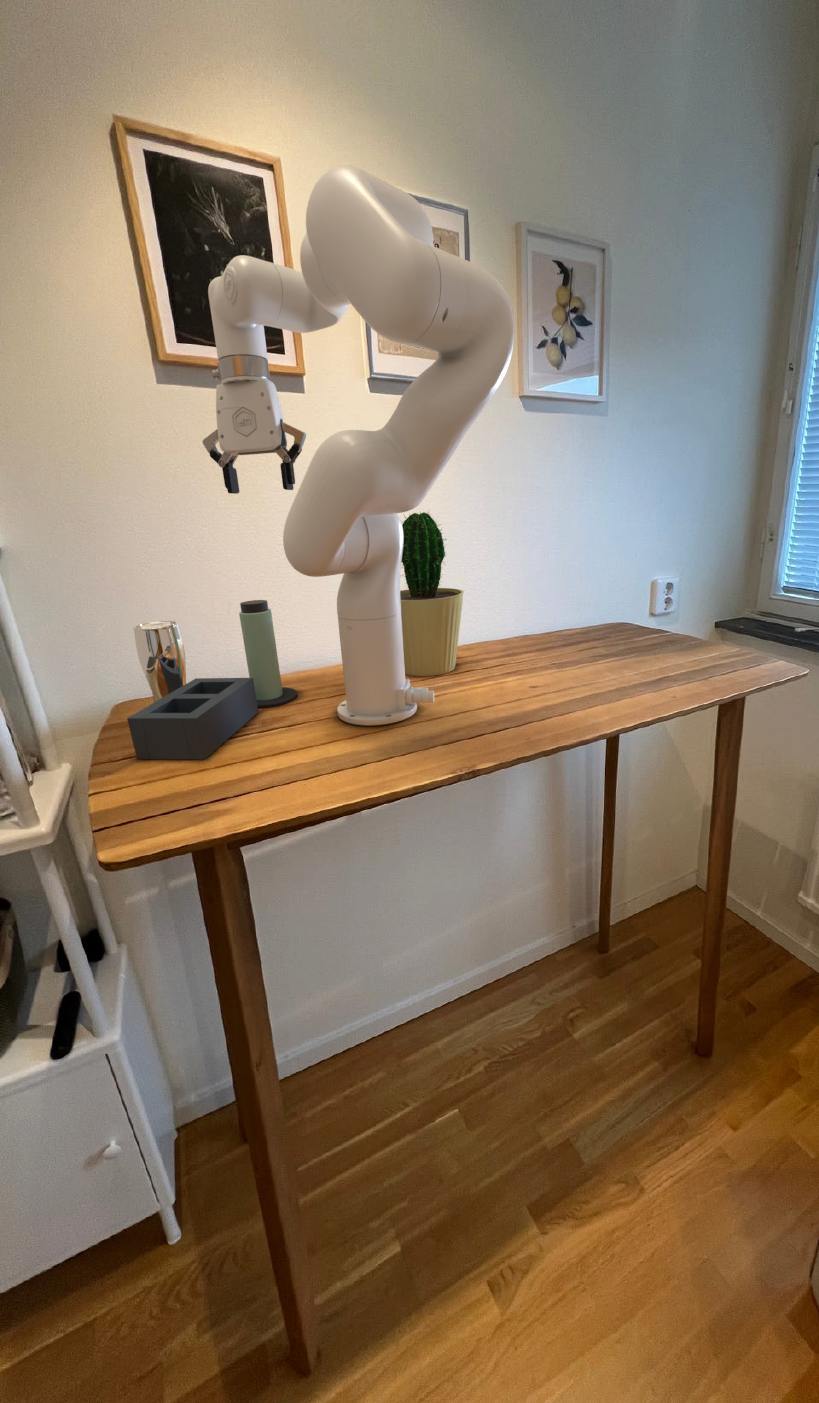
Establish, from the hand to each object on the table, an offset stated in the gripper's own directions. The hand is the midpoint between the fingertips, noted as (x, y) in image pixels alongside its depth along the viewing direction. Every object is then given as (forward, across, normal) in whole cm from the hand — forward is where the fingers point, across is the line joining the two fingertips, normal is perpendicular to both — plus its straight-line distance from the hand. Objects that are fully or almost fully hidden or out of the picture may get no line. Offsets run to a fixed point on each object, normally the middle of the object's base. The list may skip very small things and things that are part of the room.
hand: (261, 491), depth 92 cm
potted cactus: (+34, +25, +11) cm, 44 cm away
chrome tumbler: (+34, -15, -14) cm, 40 cm away
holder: (+34, -5, -23) cm, 41 cm away
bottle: (+34, -1, -7) cm, 34 cm away
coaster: (+34, -1, -7) cm, 35 cm away
